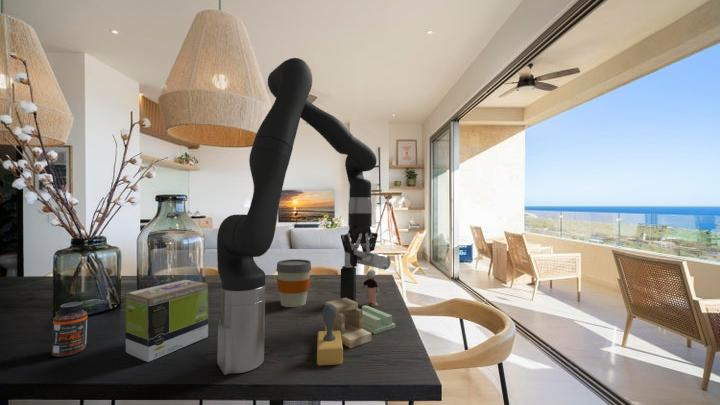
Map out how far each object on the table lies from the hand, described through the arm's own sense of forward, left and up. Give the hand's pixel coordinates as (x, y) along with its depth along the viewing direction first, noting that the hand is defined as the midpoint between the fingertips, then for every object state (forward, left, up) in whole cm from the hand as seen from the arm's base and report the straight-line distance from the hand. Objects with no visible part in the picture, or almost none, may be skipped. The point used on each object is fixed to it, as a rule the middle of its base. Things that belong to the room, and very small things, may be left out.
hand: (359, 265), depth 95 cm
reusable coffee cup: (-10, +26, -17) cm, 33 cm away
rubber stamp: (-20, -14, -17) cm, 30 cm away
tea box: (-50, +14, -17) cm, 55 cm away
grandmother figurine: (+12, +8, -17) cm, 22 cm away
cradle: (0, -6, -17) cm, 18 cm away
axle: (0, -5, +3) cm, 6 cm away
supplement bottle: (-69, +24, -17) cm, 75 cm away
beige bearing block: (-11, -9, -17) cm, 22 cm away
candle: (+6, +14, -17) cm, 23 cm away
